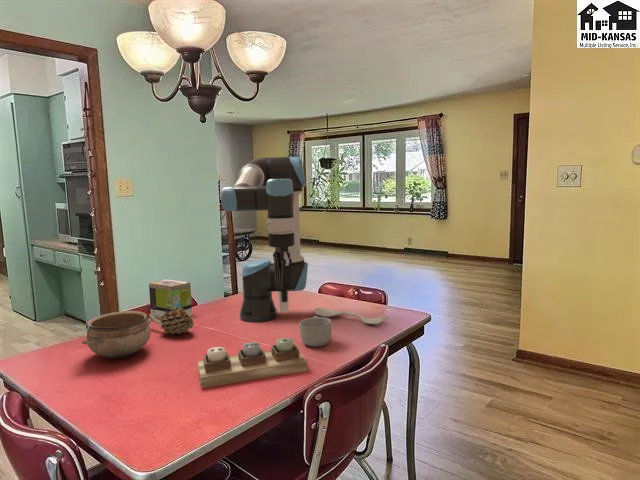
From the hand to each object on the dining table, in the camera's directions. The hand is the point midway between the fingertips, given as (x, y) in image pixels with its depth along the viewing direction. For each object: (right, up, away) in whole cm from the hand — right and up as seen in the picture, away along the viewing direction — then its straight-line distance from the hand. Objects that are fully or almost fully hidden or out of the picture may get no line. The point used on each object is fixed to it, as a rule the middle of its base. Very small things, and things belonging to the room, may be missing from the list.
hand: (283, 311), depth 130 cm
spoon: (+22, -11, +45) cm, 52 cm away
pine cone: (-46, -14, +34) cm, 58 cm away
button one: (0, -12, +2) cm, 12 cm away
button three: (-9, -12, -2) cm, 16 cm away
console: (-9, -17, -1) cm, 20 cm away
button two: (-19, -13, -5) cm, 23 cm away
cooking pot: (-54, -17, +13) cm, 58 cm away
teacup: (+10, -14, +21) cm, 27 cm away
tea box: (-52, -11, +55) cm, 76 cm away
